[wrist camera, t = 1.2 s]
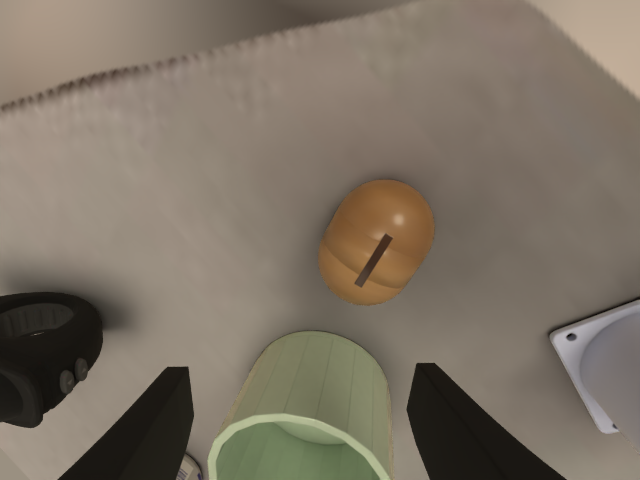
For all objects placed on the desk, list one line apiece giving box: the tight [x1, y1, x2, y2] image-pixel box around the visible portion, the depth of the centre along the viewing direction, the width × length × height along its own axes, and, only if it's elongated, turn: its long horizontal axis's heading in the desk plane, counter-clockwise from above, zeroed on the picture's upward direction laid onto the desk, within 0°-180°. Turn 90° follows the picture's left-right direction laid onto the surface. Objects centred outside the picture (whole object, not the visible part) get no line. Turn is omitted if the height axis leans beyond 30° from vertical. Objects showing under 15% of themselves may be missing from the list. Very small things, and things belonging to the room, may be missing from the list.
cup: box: [207, 331, 394, 480], centre depth 20 cm, size 10×10×7 cm
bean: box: [318, 179, 435, 306], centre depth 17 cm, size 7×5×5 cm
